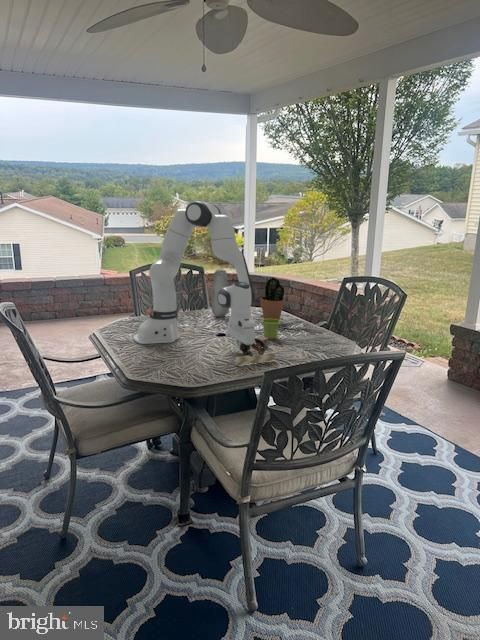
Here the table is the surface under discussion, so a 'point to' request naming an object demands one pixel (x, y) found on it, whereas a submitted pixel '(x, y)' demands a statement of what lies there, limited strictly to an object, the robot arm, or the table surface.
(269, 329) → the plant pot
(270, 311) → the potted plant
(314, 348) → the table surface
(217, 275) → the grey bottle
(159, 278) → the robot arm
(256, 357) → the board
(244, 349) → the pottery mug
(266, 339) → the walnut block
